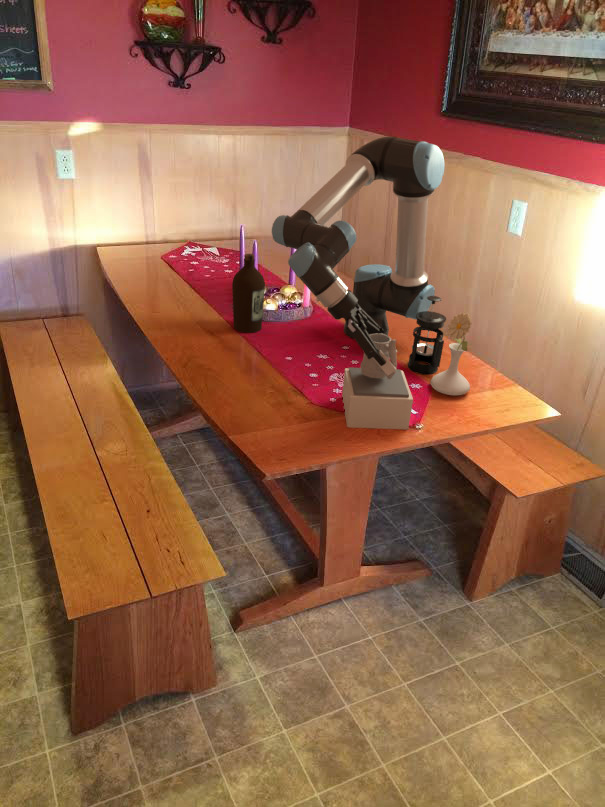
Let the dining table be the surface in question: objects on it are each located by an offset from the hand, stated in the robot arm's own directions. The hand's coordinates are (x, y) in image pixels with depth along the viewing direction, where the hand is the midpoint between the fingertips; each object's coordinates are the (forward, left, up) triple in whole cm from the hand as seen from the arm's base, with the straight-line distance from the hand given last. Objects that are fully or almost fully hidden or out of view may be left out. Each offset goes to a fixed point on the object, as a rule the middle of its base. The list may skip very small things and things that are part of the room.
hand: (392, 363), depth 172 cm
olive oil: (-54, -39, -16) cm, 68 cm away
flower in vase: (-15, +21, -16) cm, 30 cm away
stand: (-1, -3, -15) cm, 16 cm away
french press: (-29, +16, -16) cm, 36 cm away
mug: (0, -3, -4) cm, 5 cm away
